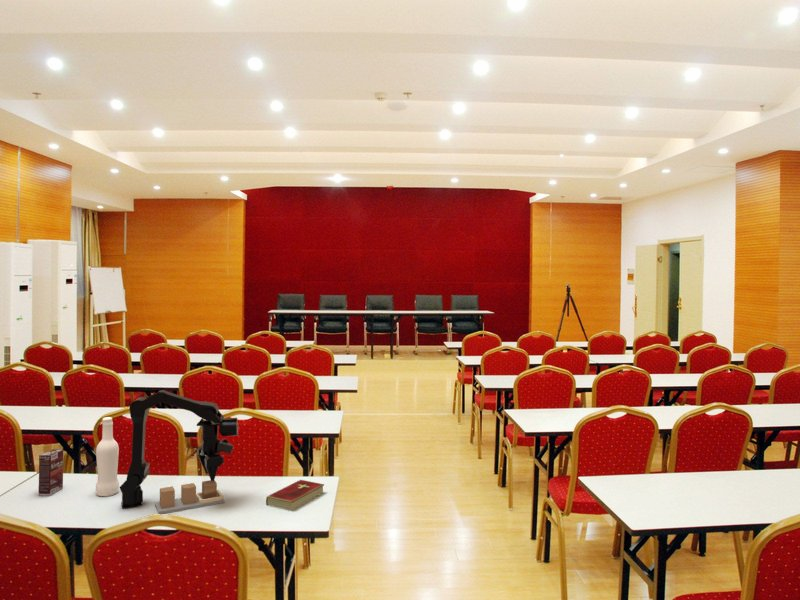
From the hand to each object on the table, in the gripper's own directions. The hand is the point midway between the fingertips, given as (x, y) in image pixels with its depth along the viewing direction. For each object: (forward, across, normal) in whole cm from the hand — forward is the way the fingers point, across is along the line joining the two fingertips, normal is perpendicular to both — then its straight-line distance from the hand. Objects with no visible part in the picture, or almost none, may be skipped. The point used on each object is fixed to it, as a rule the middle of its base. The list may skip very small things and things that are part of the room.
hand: (209, 477), depth 213 cm
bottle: (+9, +27, +33) cm, 44 cm away
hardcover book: (+10, -14, -29) cm, 34 cm away
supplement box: (+9, +39, +52) cm, 66 cm away
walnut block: (+8, 0, 0) cm, 8 cm away
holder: (+9, 0, +7) cm, 12 cm away
